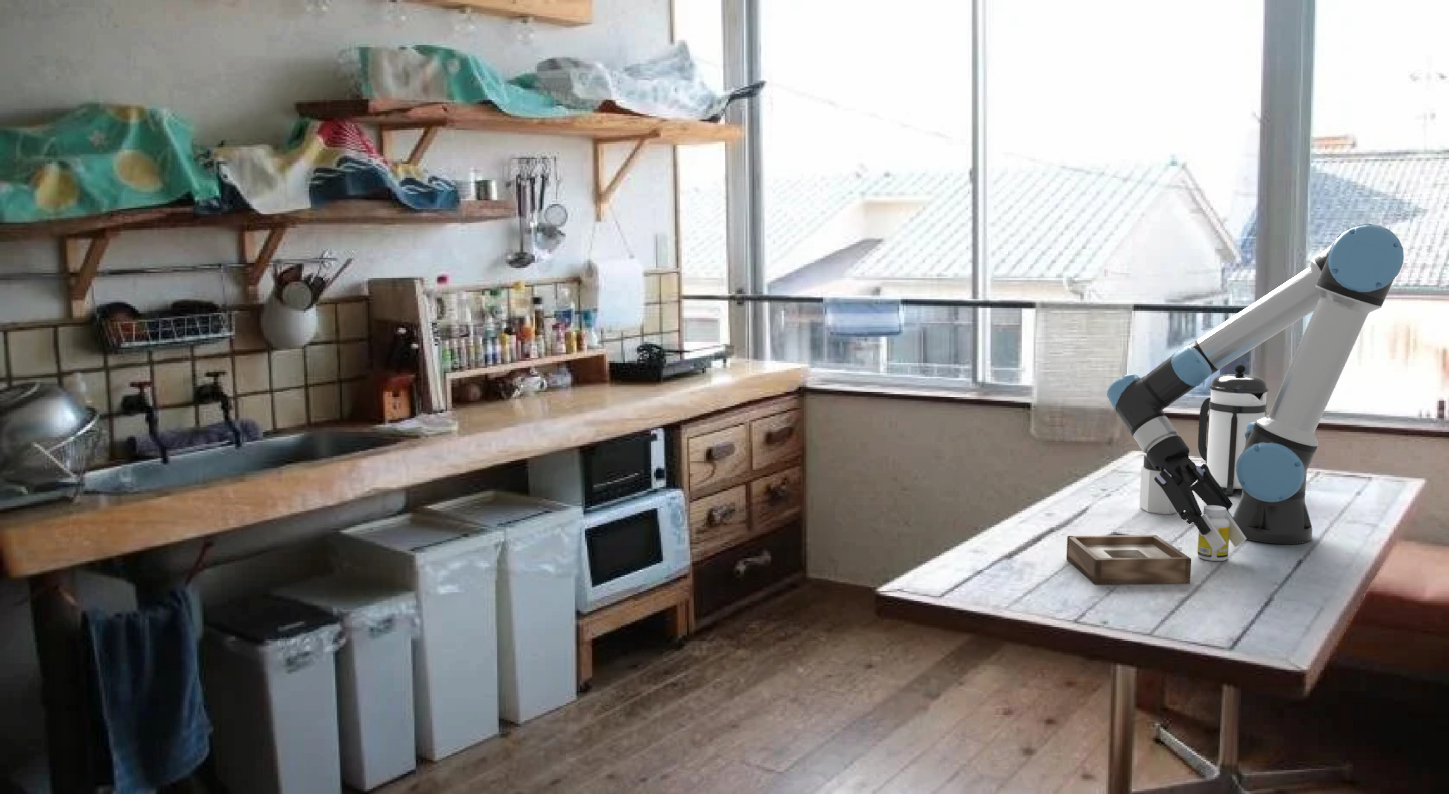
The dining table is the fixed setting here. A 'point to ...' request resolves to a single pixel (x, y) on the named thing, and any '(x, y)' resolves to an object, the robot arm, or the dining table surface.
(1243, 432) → the coffee press
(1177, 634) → the dining table surface
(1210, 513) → the supplement bottle
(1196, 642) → the dining table surface
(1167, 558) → the socket box
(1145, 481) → the jar
